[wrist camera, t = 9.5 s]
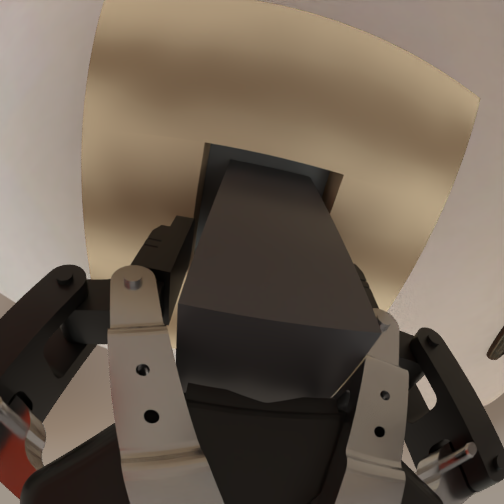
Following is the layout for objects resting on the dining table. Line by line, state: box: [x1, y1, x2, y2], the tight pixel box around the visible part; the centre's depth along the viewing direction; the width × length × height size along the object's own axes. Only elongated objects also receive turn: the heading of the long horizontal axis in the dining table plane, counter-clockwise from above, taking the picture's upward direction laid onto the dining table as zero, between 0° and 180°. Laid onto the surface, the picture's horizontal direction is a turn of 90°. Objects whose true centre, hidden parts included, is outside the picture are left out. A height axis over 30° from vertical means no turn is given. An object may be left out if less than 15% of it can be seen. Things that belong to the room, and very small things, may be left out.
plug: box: [176, 159, 382, 403], centre depth 11 cm, size 8×4×10 cm, turn 168°
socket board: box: [81, 0, 480, 349], centre depth 14 cm, size 20×18×4 cm
